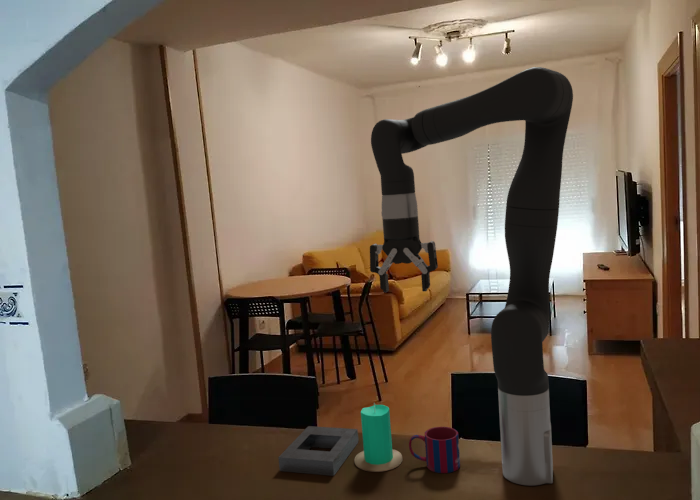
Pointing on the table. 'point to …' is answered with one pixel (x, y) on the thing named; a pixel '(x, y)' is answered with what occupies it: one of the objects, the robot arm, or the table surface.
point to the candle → (376, 434)
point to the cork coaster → (390, 465)
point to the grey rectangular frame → (319, 461)
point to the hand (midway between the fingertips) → (405, 291)
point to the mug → (440, 449)
